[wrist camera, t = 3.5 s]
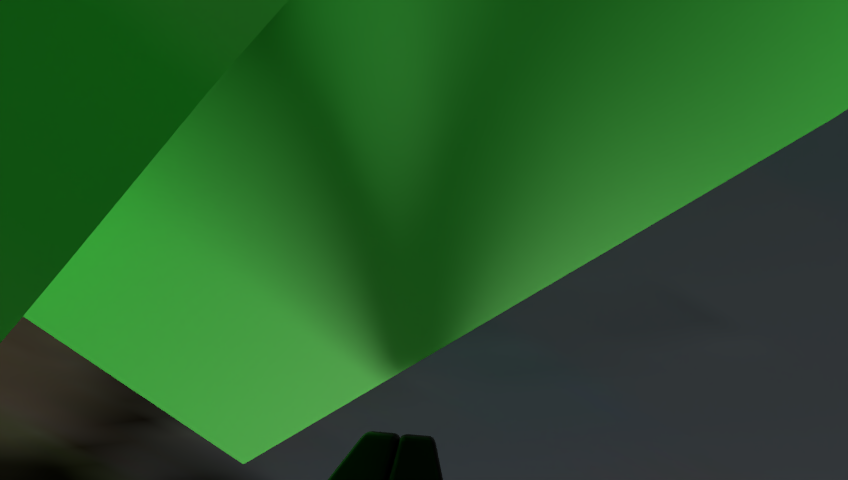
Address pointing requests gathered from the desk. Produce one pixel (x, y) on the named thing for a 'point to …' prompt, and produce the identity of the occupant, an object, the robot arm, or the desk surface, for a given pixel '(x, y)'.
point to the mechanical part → (359, 173)
